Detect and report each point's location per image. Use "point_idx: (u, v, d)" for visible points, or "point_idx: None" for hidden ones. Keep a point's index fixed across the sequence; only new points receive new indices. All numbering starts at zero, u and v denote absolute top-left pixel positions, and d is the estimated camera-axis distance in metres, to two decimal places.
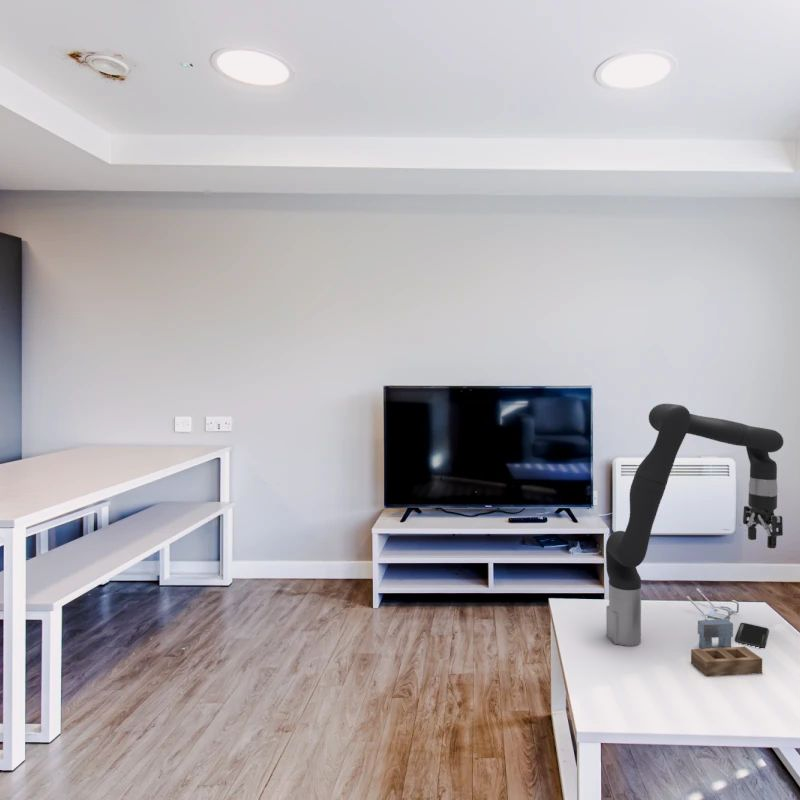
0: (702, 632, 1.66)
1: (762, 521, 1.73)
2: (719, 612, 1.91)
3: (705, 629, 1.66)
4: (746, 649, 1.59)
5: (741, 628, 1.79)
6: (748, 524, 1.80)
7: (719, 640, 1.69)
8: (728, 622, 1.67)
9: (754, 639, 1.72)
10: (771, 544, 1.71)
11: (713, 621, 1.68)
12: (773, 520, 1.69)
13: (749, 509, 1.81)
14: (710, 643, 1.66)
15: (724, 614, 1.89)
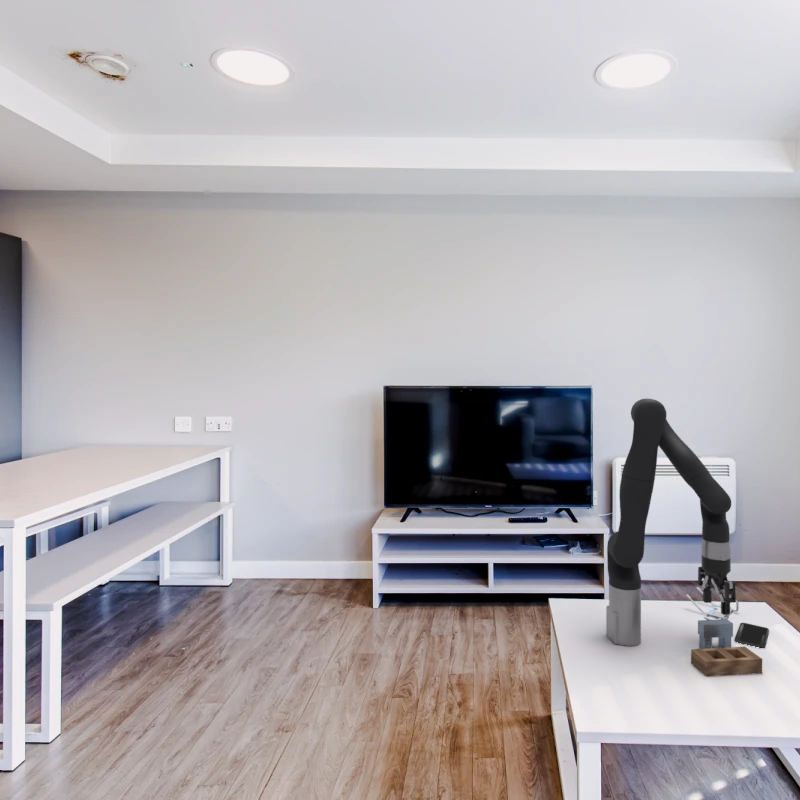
0: (702, 632, 1.66)
1: (715, 586, 1.65)
2: (718, 611, 1.92)
3: (705, 629, 1.66)
4: (746, 649, 1.59)
5: (741, 628, 1.79)
6: (703, 586, 1.72)
7: (719, 640, 1.69)
8: (728, 622, 1.67)
9: (754, 639, 1.72)
10: (725, 611, 1.62)
11: (713, 621, 1.68)
12: (726, 586, 1.60)
13: (703, 570, 1.72)
14: (710, 643, 1.66)
15: None
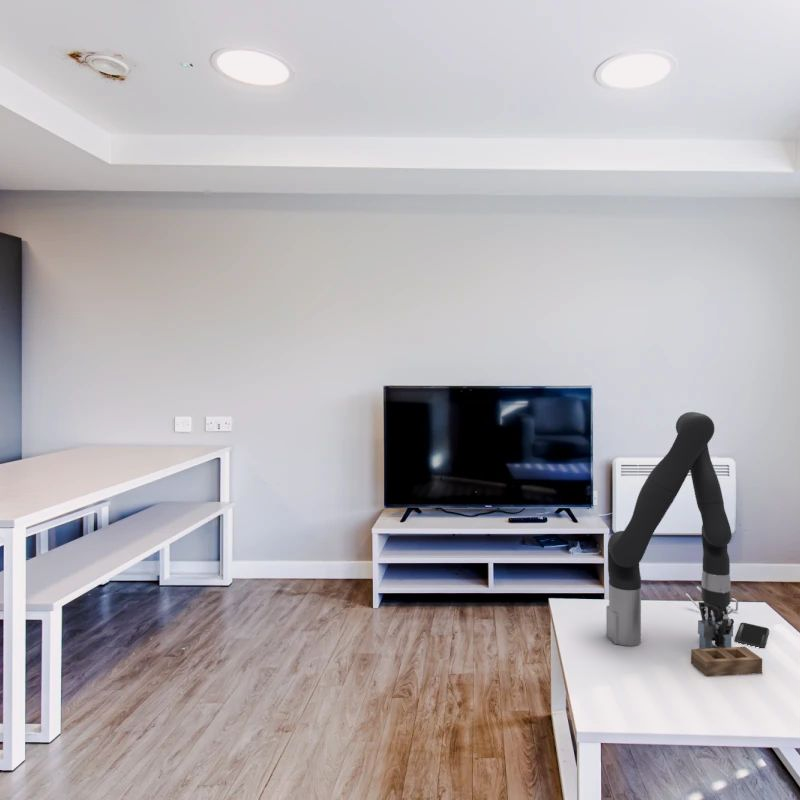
0: (702, 632, 1.66)
1: (713, 618, 1.66)
2: None
3: (705, 629, 1.66)
4: (746, 649, 1.59)
5: (741, 628, 1.79)
6: None
7: None
8: None
9: (754, 639, 1.72)
10: (718, 642, 1.65)
11: None
12: (724, 623, 1.62)
13: (704, 604, 1.72)
14: (710, 643, 1.66)
15: None
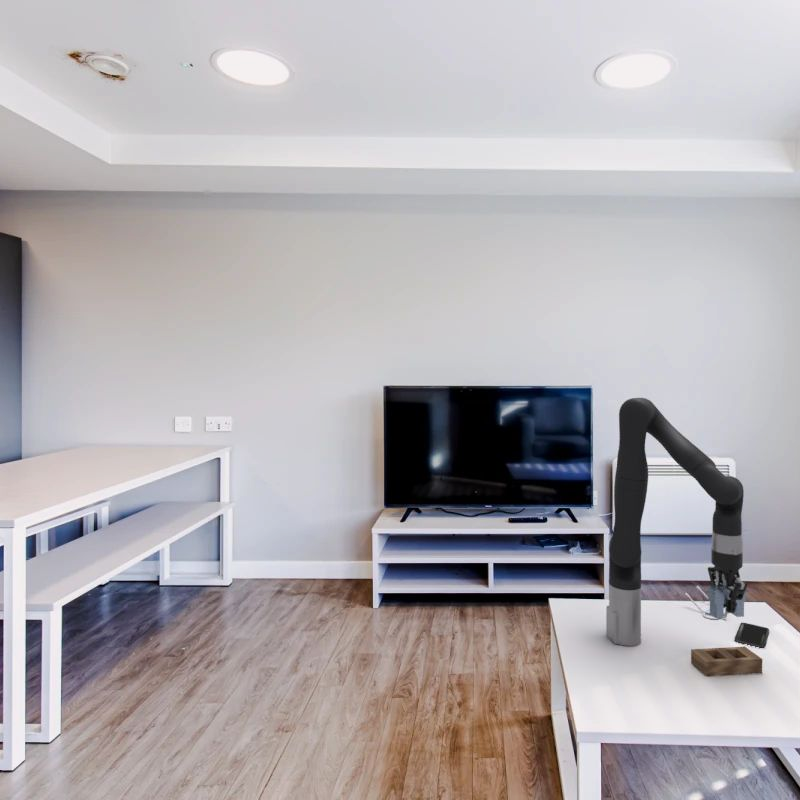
0: (714, 597, 1.56)
1: (724, 582, 1.55)
2: None
3: (716, 595, 1.55)
4: (746, 649, 1.59)
5: (741, 628, 1.79)
6: None
7: None
8: None
9: (754, 639, 1.72)
10: (730, 608, 1.54)
11: None
12: (737, 587, 1.51)
13: (713, 569, 1.62)
14: (722, 609, 1.55)
15: None
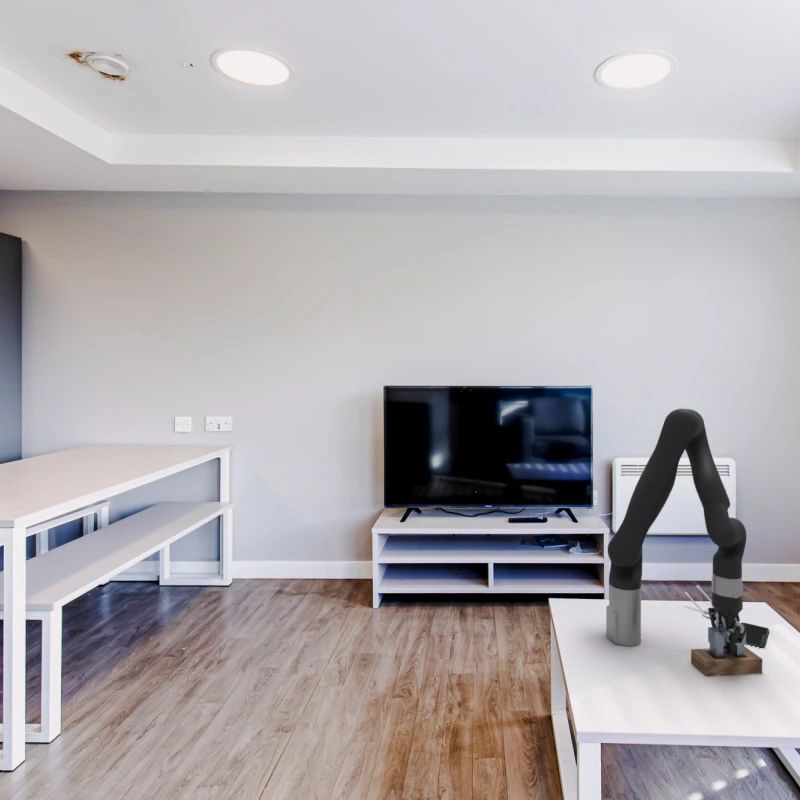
0: (713, 640, 1.55)
1: (724, 625, 1.54)
2: None
3: (716, 637, 1.55)
4: (746, 649, 1.59)
5: None
6: None
7: None
8: None
9: (754, 639, 1.72)
10: (730, 651, 1.54)
11: None
12: (736, 631, 1.50)
13: (714, 610, 1.61)
14: (722, 652, 1.55)
15: None
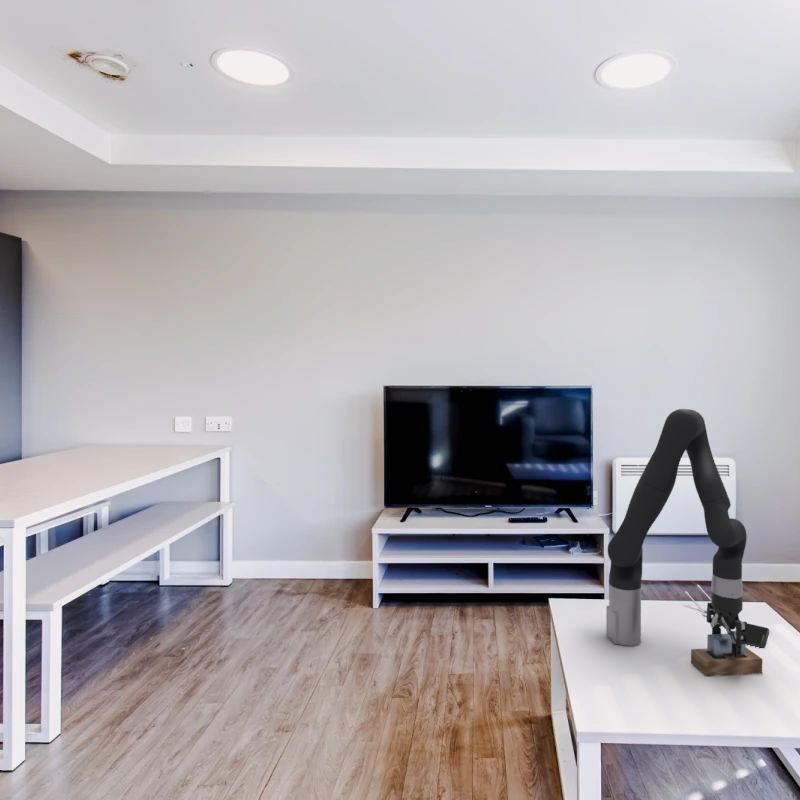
0: (713, 647, 1.55)
1: (726, 625, 1.54)
2: None
3: (715, 644, 1.55)
4: (746, 649, 1.59)
5: None
6: (712, 624, 1.61)
7: None
8: None
9: (754, 639, 1.72)
10: (735, 652, 1.51)
11: (724, 635, 1.57)
12: (738, 627, 1.50)
13: (713, 607, 1.61)
14: None
15: None
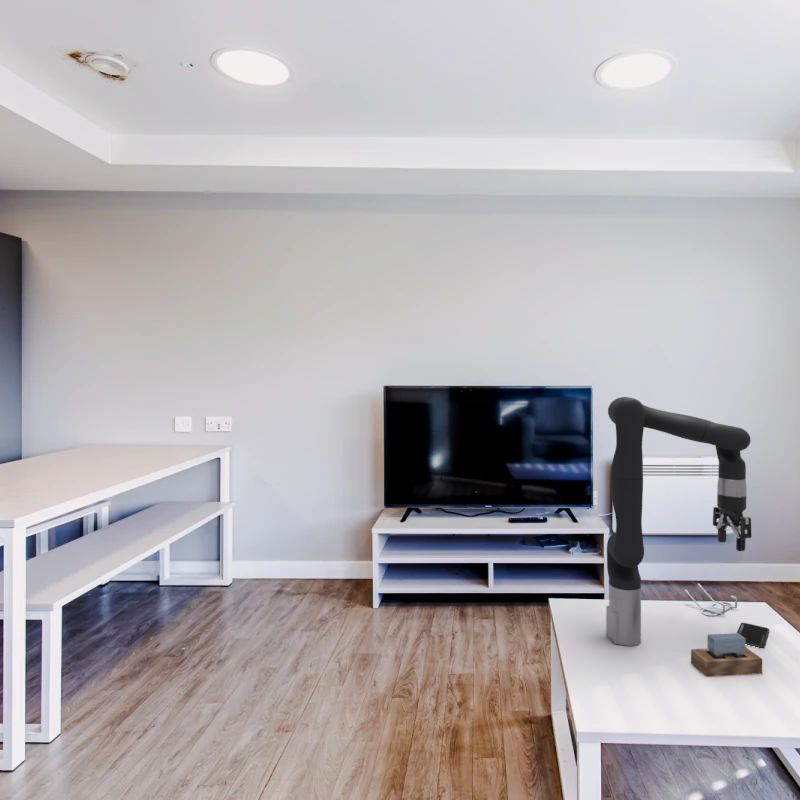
0: (713, 647, 1.55)
1: (731, 523, 1.66)
2: (717, 607, 1.95)
3: (715, 644, 1.55)
4: (746, 649, 1.59)
5: (741, 628, 1.79)
6: (718, 526, 1.73)
7: None
8: (740, 637, 1.56)
9: (754, 639, 1.72)
10: (740, 547, 1.64)
11: (724, 635, 1.57)
12: (742, 522, 1.62)
13: (719, 510, 1.74)
14: None
15: (721, 609, 1.93)
